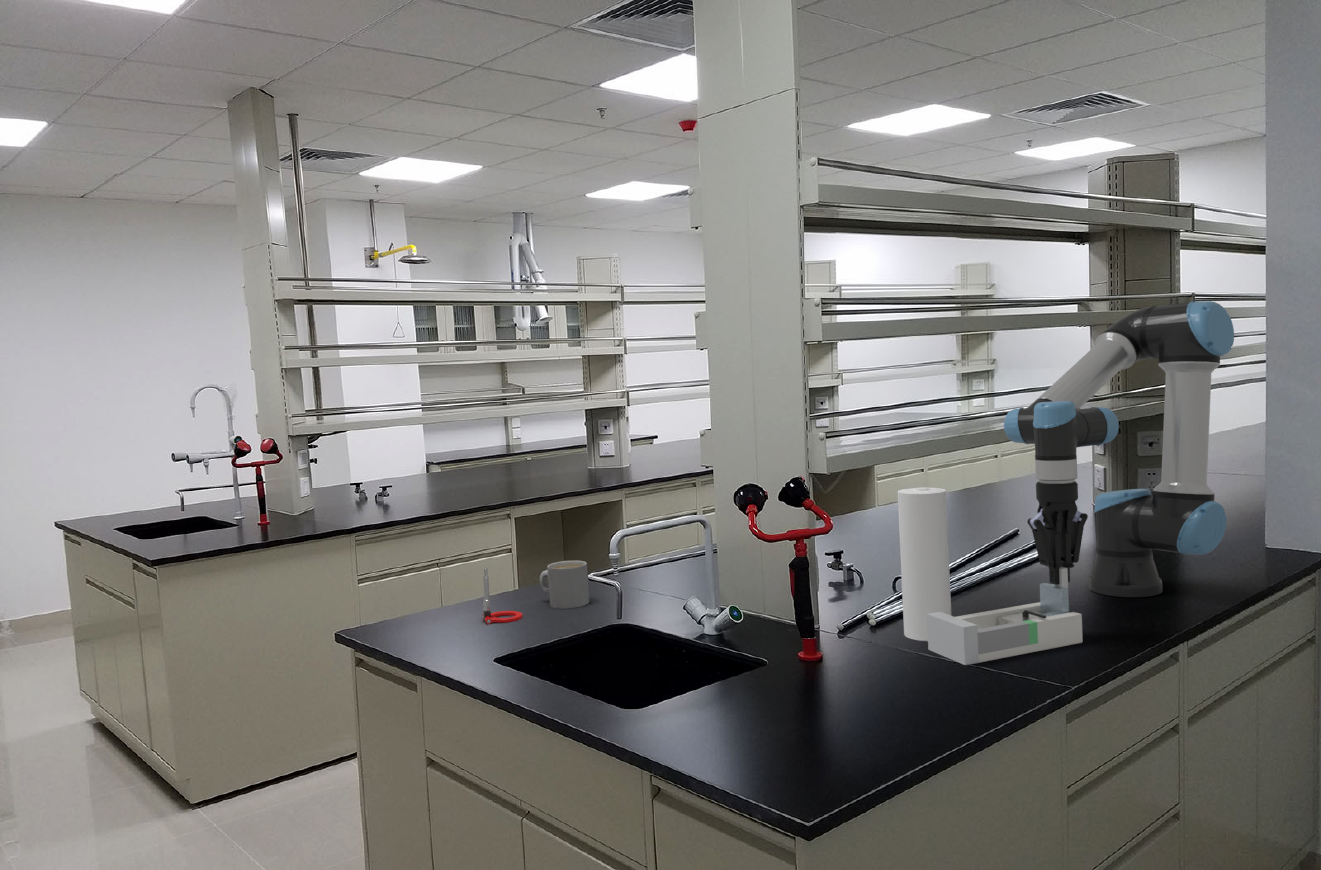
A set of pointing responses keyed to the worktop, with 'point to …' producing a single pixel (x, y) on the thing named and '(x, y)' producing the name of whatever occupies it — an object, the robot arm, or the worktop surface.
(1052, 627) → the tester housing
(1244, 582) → the worktop surface
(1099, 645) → the worktop surface
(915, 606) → the cylinder container
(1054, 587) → the plunger
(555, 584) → the coffee mug
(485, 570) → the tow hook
